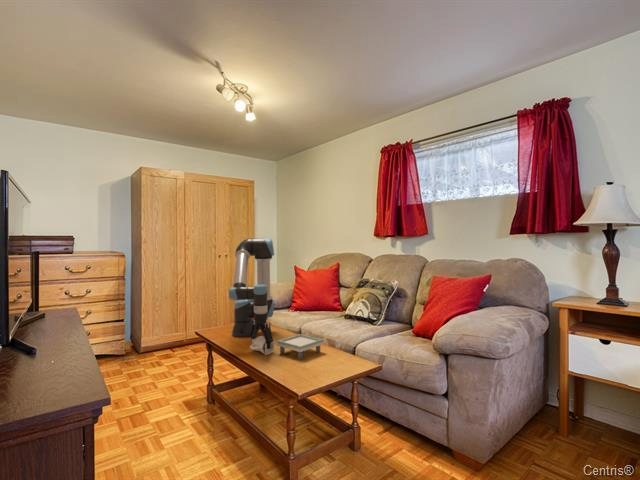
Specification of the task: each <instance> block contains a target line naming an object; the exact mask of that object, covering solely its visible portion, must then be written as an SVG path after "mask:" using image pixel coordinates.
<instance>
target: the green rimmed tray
mask: <svg viewBox="0 0 640 480" xmlns="http://www.w3.org/2000/svg"><path fill="white" fill-rule="evenodd" d="M323 345H324V338H318V337H314V336H310V335H306V334H302V333H300V334H299V333H298V334H295V335H293V336H292V335H291V336H289V337H285V338H282V339H279V340H276V346H277V347H279V354H280V355H285V354H286V353H285V349H287V350H292V351H295V352H297V360H298V361H302V360H303V357H304V356H303V355H304V354H303V352H306V351H308V350H312V349H314V348H315V353H316V354H320V353H321V346H323Z"/></svg>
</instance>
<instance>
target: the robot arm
mask: <svg viewBox="0 0 640 480" xmlns="http://www.w3.org/2000/svg"><path fill="white" fill-rule="evenodd" d="M252 256H253V257H254V259H255V261H256V275H257V277H256V279H257V280H256V281H257V282H256V283H257V284H256V285H255V284H254V285H253V286H247V283H248V282H247V281H248V269H249V268H248V266H249V260H250V258H251V257H252ZM274 256H275V249H274V244H273V239H272V238H268V237H265V238H264V237H262V238H259V237H258V238H252V237H251V238H249V237H248V238H246V239H244V240H243V241H241V242H240V243H239V244H238V245H237V247H236V249H235V252H234V257H235V258H236V259H235V267H234V277H233V286H231V287H229V289H228V299H229V300H231V301H235V302H234V308H233V309H234V324H233V327H232V331H231V335H232V336H233V337H236V336H237V338H243V337H244V338H245V337H249V338H250V339H251V345H252V344H254V341H255V339H256V338H257V337H258V336H257V335H258V333H259V331H260V332H262V336H264V338H265V341H266V343H265V354H264V356H268V355H270V354H271V353H270V342H274V339H273V338H274V337H273V333H272V329H271V323H267V320H268V319H269V318H273V315H274V312H275V300H274V299H273V296H271V260H272V259H273V257H274ZM251 351H253V352H254V351H257V350H256V349H251Z"/></svg>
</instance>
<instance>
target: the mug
mask: <svg viewBox="0 0 640 480" xmlns="http://www.w3.org/2000/svg"><path fill="white" fill-rule="evenodd" d="M256 337H257V338H256V339H255V341H254V344H252V343H251V344H250V346H249V348H250V349H251V350H252V349H256V350H255V351H259V352H260V353H262V354H264V355H265V343H266V341H265V338H264V335H259V336H256ZM274 350H275V341H273V342H270V354H272V353H273V352H274Z"/></svg>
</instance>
